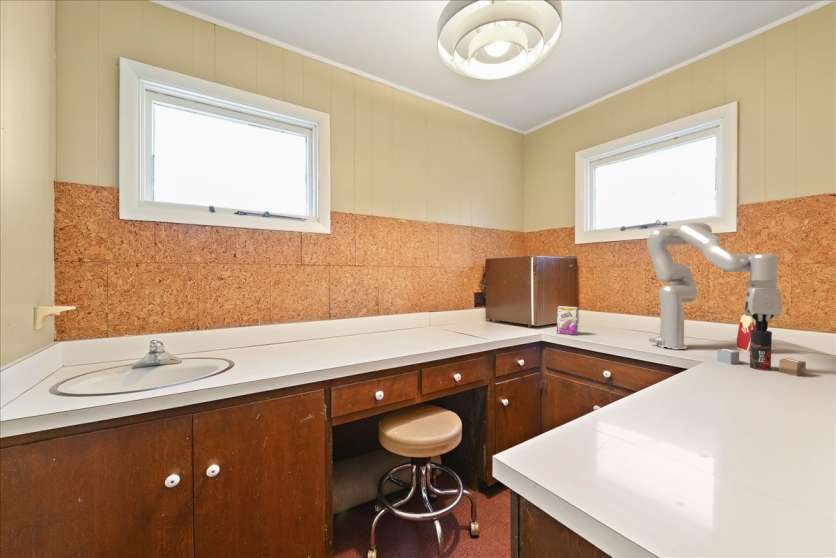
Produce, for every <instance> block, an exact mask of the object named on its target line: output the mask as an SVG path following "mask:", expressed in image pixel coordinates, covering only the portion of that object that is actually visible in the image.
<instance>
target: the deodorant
mask: <svg viewBox="0 0 836 558" xmlns="http://www.w3.org/2000/svg"><path fill="white" fill-rule="evenodd" d="M772 336H773V332H772V331H770V330H767V332H764V331H763V332H761V331H757V330H751V338H750V353H749V367H750V368H751V369H754V370H759V371H771V368H772V367H771V366H772V341H773V340H772V339H773V337H772Z"/></svg>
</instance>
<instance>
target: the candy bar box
mask: <svg viewBox="0 0 836 558" xmlns="http://www.w3.org/2000/svg"><path fill="white" fill-rule="evenodd" d="M578 318H579V307H577V306H564V305H562V306H561V305H558V306H557V307H556V334H557V333H560V334H559V335H567V334H573V335H572V336H578V334H579V333H578V331H579V330H578V329H579V328H578V327H579V325H578V323H579V319H578Z"/></svg>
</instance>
